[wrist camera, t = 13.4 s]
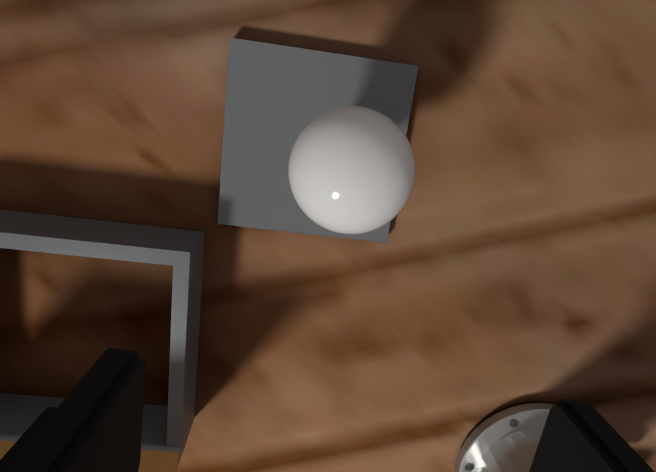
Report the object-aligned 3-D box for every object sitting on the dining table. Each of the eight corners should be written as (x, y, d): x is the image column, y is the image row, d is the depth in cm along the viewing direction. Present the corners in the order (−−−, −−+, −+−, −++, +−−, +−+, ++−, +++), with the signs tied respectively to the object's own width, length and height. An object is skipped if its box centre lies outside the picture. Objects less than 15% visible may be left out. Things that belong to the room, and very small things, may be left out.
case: (205, 231, 32) (131, 332, 18) (194, 418, 37) (129, 612, 23) (-32, 205, 31) (-306, 293, 17) (-13, 403, 35) (-216, 600, 21)
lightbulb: (405, 156, 30) (459, 186, 20) (335, 217, 31) (352, 278, 21) (343, 82, 29) (366, 73, 18) (271, 150, 30) (255, 178, 19)
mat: (414, 66, 30) (418, 65, 29) (384, 238, 33) (386, 242, 32) (232, 39, 29) (229, 37, 28) (220, 220, 32) (217, 223, 31)
